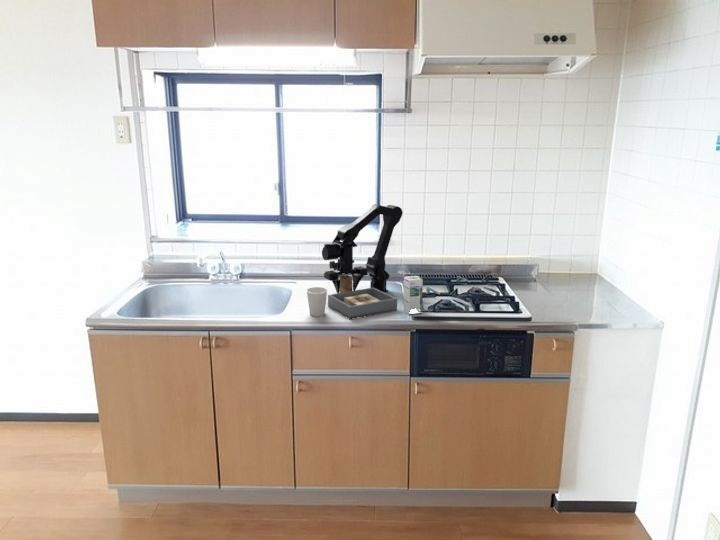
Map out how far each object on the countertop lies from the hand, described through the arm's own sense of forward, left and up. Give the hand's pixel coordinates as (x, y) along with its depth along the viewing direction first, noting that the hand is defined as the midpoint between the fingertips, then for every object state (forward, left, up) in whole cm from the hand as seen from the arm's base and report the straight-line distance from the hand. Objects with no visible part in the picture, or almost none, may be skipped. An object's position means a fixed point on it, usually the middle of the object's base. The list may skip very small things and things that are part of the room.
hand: (346, 292), depth 234 cm
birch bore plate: (+2, +17, -2) cm, 17 cm away
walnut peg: (0, 0, -2) cm, 2 cm away
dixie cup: (+21, +14, -2) cm, 25 cm away
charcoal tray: (+2, +17, -2) cm, 17 cm away
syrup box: (-13, +31, -2) cm, 34 cm away
